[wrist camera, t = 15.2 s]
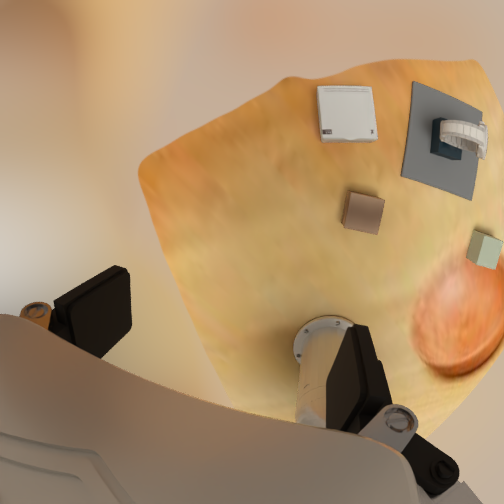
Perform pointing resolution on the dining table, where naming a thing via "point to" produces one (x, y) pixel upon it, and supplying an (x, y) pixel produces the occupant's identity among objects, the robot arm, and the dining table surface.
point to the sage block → (484, 250)
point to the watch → (458, 138)
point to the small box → (346, 114)
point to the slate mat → (419, 143)
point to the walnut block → (362, 212)
